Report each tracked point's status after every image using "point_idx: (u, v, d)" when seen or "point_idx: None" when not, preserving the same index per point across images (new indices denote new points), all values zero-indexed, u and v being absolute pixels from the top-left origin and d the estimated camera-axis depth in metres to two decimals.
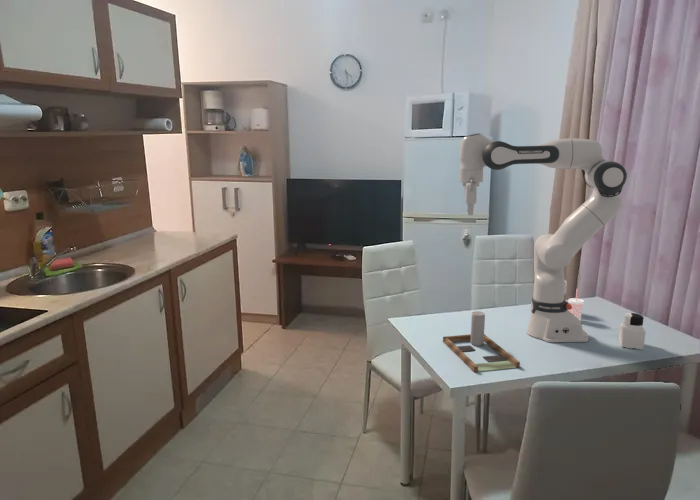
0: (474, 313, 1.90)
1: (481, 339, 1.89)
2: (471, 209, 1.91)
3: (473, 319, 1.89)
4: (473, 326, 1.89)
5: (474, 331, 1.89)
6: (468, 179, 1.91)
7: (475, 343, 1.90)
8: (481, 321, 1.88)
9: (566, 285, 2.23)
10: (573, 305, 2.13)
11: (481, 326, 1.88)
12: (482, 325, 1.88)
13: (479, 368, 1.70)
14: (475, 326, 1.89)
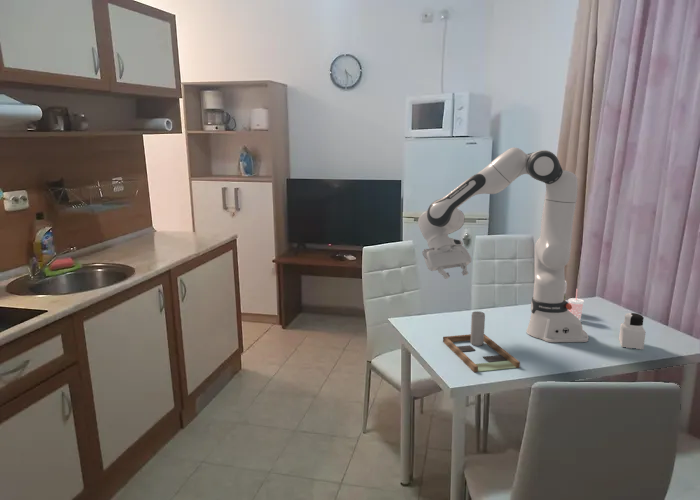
0: (474, 313, 1.90)
1: (481, 339, 1.89)
2: (443, 272, 1.96)
3: (473, 319, 1.89)
4: (473, 326, 1.89)
5: (474, 331, 1.89)
6: None
7: (475, 343, 1.90)
8: (481, 321, 1.88)
9: (566, 285, 2.23)
10: (573, 305, 2.13)
11: (481, 326, 1.88)
12: (482, 325, 1.88)
13: (479, 368, 1.70)
14: (475, 326, 1.89)
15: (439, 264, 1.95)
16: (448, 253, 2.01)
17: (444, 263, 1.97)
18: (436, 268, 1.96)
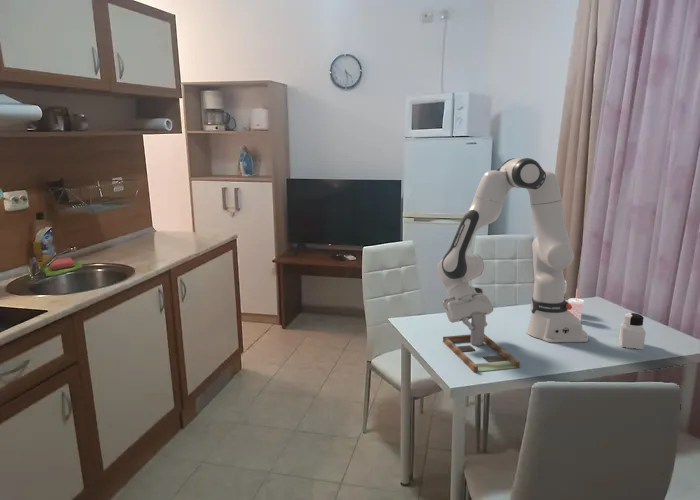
0: (474, 313, 1.90)
1: (481, 339, 1.89)
2: (468, 324, 1.89)
3: (473, 319, 1.89)
4: None
5: (474, 331, 1.89)
6: None
7: (475, 343, 1.90)
8: (481, 321, 1.88)
9: (566, 285, 2.23)
10: (573, 305, 2.13)
11: (481, 326, 1.88)
12: (482, 325, 1.88)
13: (479, 368, 1.70)
14: (475, 326, 1.89)
15: (461, 316, 1.88)
16: (469, 303, 1.93)
17: (466, 314, 1.89)
18: (457, 320, 1.88)
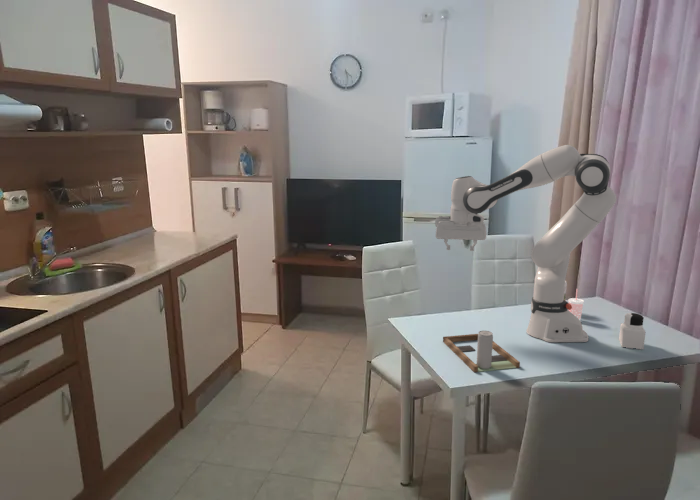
0: (481, 333, 1.70)
1: (489, 362, 1.69)
2: None
3: (480, 339, 1.68)
4: (480, 347, 1.69)
5: (481, 353, 1.69)
6: None
7: (482, 366, 1.69)
8: (489, 342, 1.68)
9: (566, 285, 2.23)
10: (573, 305, 2.13)
11: (488, 347, 1.68)
12: (490, 346, 1.68)
13: (479, 368, 1.70)
14: (482, 347, 1.68)
15: (443, 237, 2.07)
16: (461, 227, 2.05)
17: (449, 237, 2.07)
18: None
